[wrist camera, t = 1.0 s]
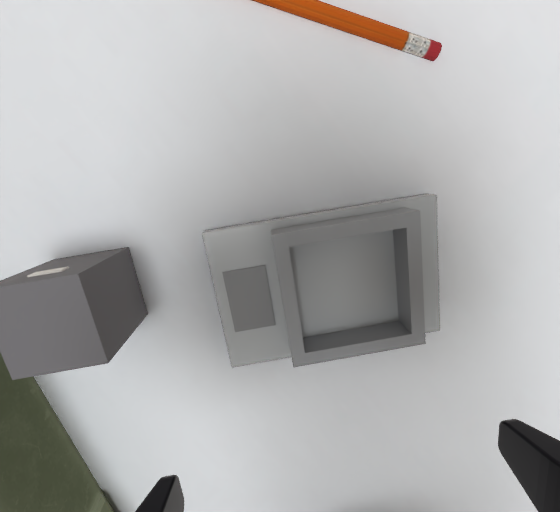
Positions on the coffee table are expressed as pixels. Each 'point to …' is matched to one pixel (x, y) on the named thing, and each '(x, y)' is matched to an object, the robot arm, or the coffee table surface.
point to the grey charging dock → (328, 282)
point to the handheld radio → (40, 455)
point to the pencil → (359, 26)
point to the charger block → (69, 313)
